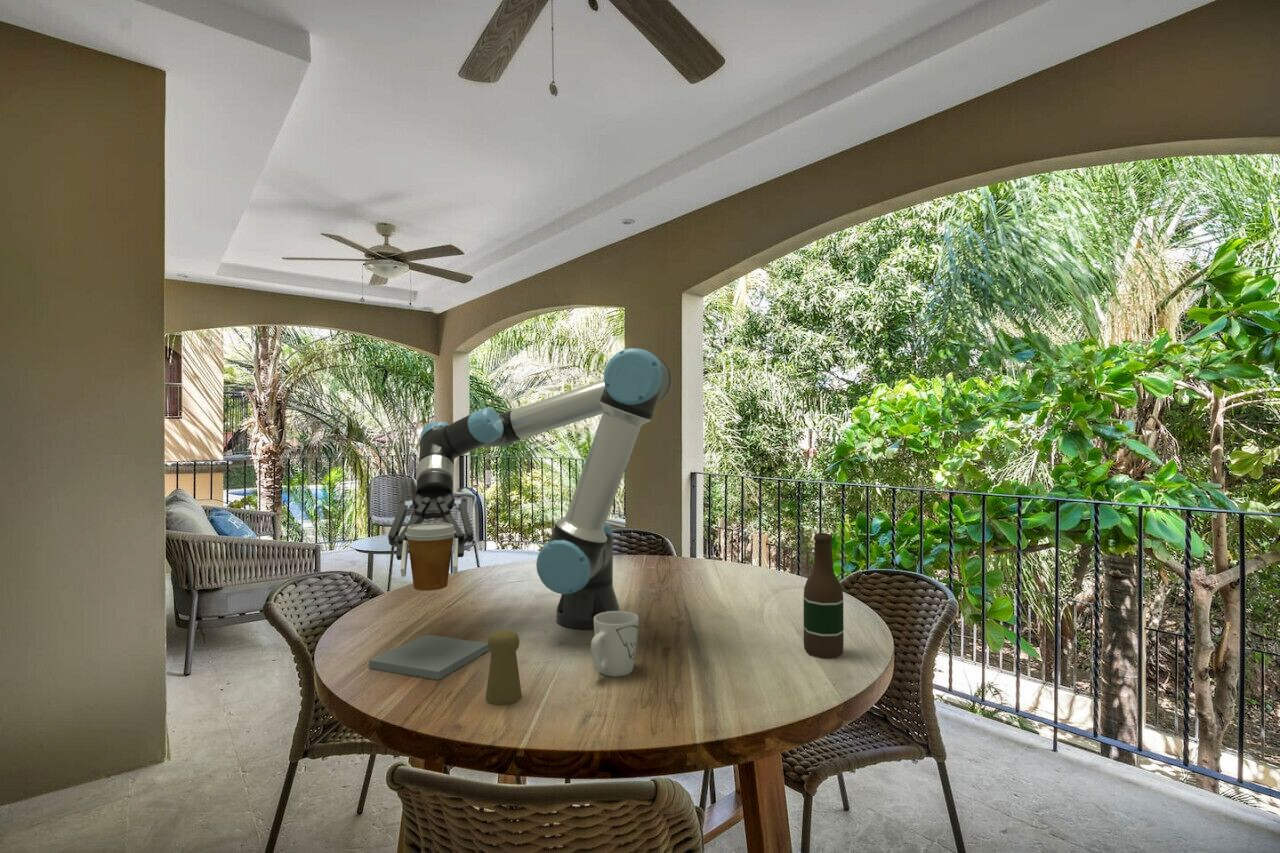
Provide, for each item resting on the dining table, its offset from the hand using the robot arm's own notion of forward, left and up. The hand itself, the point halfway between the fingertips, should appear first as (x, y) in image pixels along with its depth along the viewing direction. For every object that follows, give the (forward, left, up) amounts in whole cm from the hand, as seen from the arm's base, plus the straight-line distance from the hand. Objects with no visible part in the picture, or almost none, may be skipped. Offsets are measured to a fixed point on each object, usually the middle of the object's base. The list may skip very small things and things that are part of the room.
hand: (429, 571), depth 121 cm
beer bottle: (-70, -34, -18) cm, 80 cm away
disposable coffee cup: (+2, -3, -4) cm, 5 cm away
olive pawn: (-21, +7, -18) cm, 29 cm away
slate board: (+2, -3, -18) cm, 18 cm away
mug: (-34, -9, -18) cm, 40 cm away
